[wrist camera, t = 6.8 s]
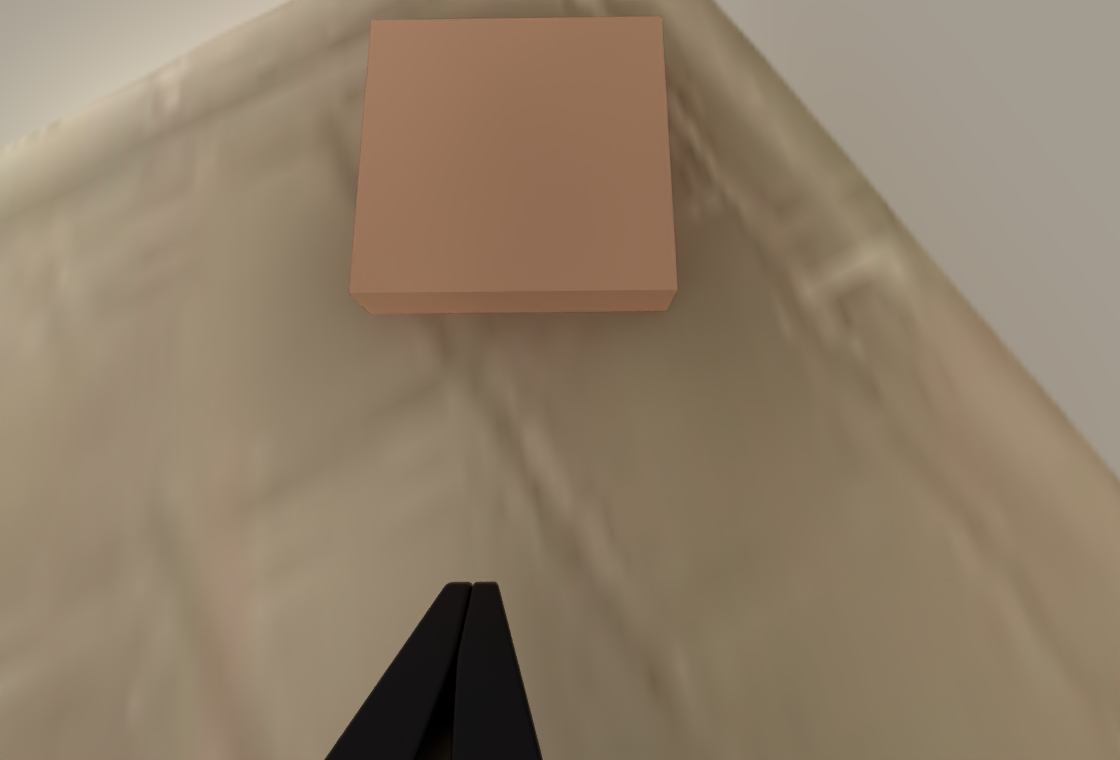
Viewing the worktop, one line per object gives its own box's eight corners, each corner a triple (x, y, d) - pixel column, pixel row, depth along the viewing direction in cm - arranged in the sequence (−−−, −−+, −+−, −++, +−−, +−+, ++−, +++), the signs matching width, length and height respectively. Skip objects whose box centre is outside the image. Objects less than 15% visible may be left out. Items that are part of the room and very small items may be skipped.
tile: (677, 289, 16) (661, 16, 18) (348, 292, 16) (371, 20, 19) (664, 315, 19) (651, 68, 21) (374, 317, 19) (392, 72, 21)
